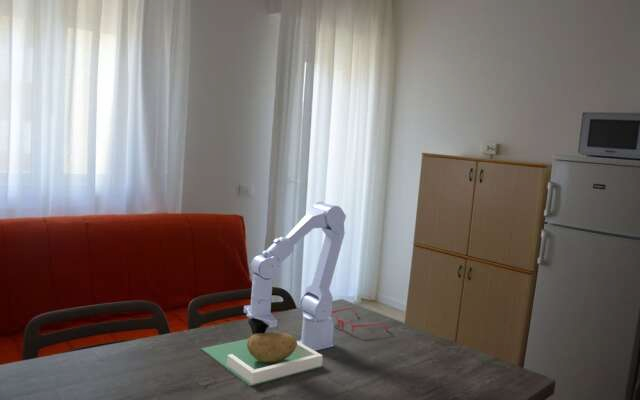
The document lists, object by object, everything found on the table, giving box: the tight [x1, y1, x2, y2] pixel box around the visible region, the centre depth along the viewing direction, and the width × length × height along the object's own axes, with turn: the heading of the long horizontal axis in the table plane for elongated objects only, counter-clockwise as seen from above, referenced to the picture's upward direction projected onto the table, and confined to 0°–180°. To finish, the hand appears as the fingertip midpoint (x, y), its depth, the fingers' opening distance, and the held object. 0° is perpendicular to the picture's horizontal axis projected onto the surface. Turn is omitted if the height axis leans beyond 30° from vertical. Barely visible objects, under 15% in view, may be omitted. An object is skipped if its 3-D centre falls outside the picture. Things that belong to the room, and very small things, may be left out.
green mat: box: [200, 338, 324, 387], centre depth 151 cm, size 24×26×1 cm
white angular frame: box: [227, 340, 324, 384], centre depth 146 cm, size 23×13×3 cm, turn 130°
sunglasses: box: [331, 307, 388, 336], centre depth 183 cm, size 17×16×5 cm
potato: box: [247, 332, 298, 363], centre depth 148 cm, size 10×14×8 cm
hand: (257, 343), depth 152 cm, fingers closed
